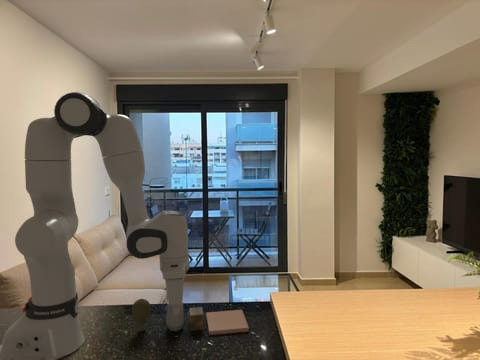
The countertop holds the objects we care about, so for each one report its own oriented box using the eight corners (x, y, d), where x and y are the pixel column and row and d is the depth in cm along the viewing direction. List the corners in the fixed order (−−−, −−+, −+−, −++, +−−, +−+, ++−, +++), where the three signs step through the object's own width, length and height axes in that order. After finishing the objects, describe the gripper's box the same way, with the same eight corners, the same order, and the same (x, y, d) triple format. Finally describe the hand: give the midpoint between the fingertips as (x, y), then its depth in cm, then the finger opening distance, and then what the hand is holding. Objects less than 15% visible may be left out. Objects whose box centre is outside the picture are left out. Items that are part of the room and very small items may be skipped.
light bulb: (155, 330, 110) (154, 299, 109) (139, 337, 106) (137, 305, 105) (145, 324, 114) (144, 294, 113) (129, 331, 110) (127, 299, 109)
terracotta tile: (209, 335, 107) (209, 331, 107) (206, 316, 119) (206, 312, 119) (248, 331, 109) (248, 327, 109) (241, 313, 121) (241, 309, 121)
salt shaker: (180, 333, 108) (179, 292, 107) (162, 331, 109) (161, 290, 108) (187, 324, 114) (186, 284, 113) (170, 322, 115) (169, 283, 114)
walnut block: (190, 331, 110) (189, 315, 109) (189, 323, 115) (189, 308, 114) (203, 329, 111) (203, 314, 110) (202, 322, 116) (202, 307, 115)
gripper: (165, 253, 119) (167, 293, 121) (162, 276, 99) (164, 323, 101) (184, 252, 120) (186, 291, 122) (185, 274, 100) (187, 321, 102)
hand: (176, 306), depth 111 cm, fingers open, 8 cm apart
